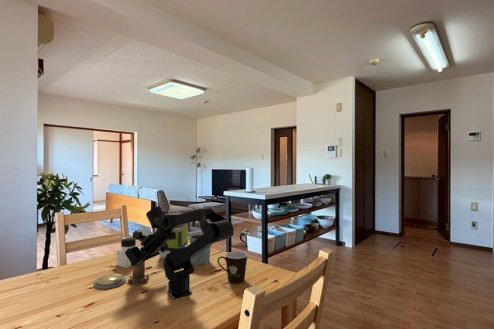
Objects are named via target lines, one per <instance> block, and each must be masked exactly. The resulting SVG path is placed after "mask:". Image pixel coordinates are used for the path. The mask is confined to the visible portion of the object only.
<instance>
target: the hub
mask: <svg viewBox="0 0 494 329" xmlns="http://www.w3.org/2000/svg"><path fill="white" fill-rule="evenodd" d="M123 276H124V275H123V274H121V273H109V274H104V275H101V276H100V277H98V278H97V279H96V280H97V285H100V286H109V285H114V284H117V283H119V282H121V281H122V280H123Z"/></svg>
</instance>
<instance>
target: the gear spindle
mask: <svg viewBox="0 0 494 329" xmlns="http://www.w3.org/2000/svg"><path fill="white" fill-rule="evenodd" d="M138 248H139V249H140V248H141V247H138ZM140 250H141V249H140ZM144 260H145V258H144ZM149 279H150V276H149V274H148V273H147V274H146V260H145V261H144V262H142V263H139V264H137V265H134V266H132V275H130V276H129V278H128V279H127V283H128V284H129V285H130V284H132V285H135V286H137V285H140V284H143V283H145V284H146V283H147V282H149Z"/></svg>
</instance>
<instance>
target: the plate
mask: <svg viewBox="0 0 494 329" xmlns="http://www.w3.org/2000/svg"><path fill="white" fill-rule="evenodd" d="M126 279H127V278H126V276H124V275H123V280H122V281H121V282H119V283H117V284H114V285H109V286H100V285H97V279H96V280H95V281H94V282H93V288H95V289H97V290H109V289H115V288H118V287H120V286H122V285H124V284H125V283H126V281H127V280H126Z"/></svg>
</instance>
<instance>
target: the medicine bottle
mask: <svg viewBox="0 0 494 329" xmlns="http://www.w3.org/2000/svg"><path fill="white" fill-rule="evenodd" d="M136 242H137V240H136V239H135V238H133V236H128V237H123V238H122V239H121V240H120V248H117V249H116V266H118V267H122V268H124V269H128V268H132V266H131V262H130V260H129V259H128V257H127V256H126V255H125V251H126V250H127V249H128V248H131V247H133V246H137V244H136Z"/></svg>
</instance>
